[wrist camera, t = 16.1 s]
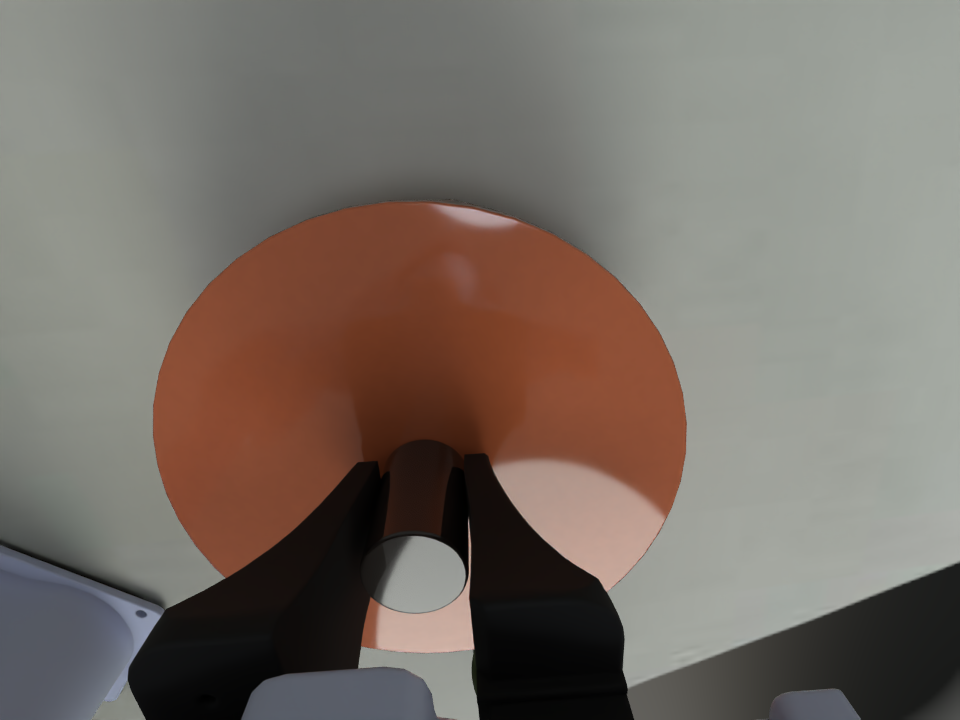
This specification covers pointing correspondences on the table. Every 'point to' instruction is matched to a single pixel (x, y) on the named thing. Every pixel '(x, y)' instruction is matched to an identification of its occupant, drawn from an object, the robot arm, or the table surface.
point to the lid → (420, 402)
